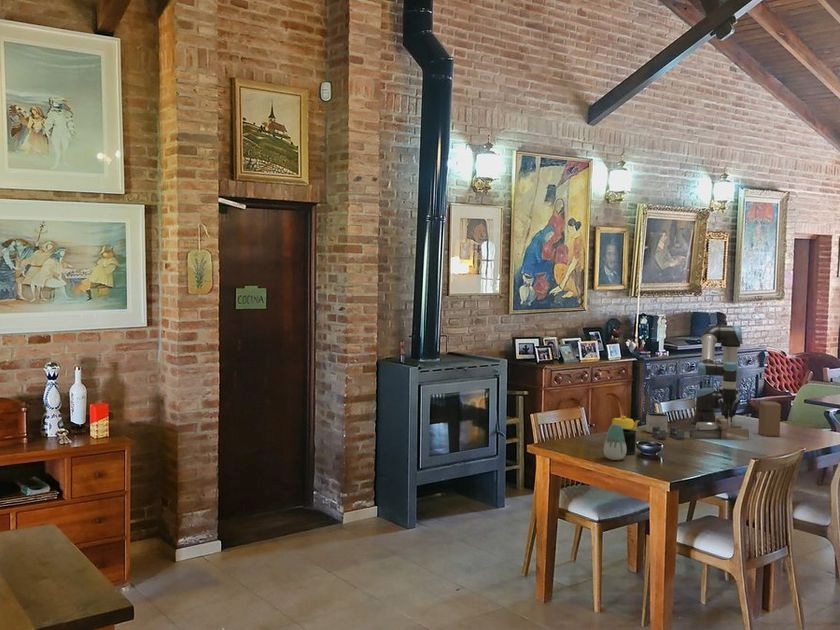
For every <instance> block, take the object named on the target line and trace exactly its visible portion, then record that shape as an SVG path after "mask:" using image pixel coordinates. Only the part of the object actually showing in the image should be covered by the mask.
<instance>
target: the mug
mask: <svg viewBox="0 0 840 630" xmlns="http://www.w3.org/2000/svg"><path fill="white" fill-rule="evenodd" d="M623 433H624V438H625V443H626V448H627V452H626V455H634V454H635V453H636V435H637V433H638V430H636V431H635V430H632V429H623Z"/></svg>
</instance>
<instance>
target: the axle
mask: <svg viewBox="0 0 840 630" xmlns="http://www.w3.org/2000/svg"><path fill="white" fill-rule="evenodd" d="M721 424H722V421H721V422H697V423H696V424H695V430H697V431H721ZM727 428H729V424H728V423H727Z"/></svg>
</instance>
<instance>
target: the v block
mask: <svg viewBox="0 0 840 630" xmlns="http://www.w3.org/2000/svg"><path fill="white" fill-rule="evenodd" d="M651 437H652V438H655V439H656V440H658V441H663V440H664V441H666V440H667V433H666V430H660V427H652V433H651ZM669 437H671V438H672V437H673V439H674V438H675V440H676V439H677V441H684V440H685V430H684V429H678V427H677V426H669Z"/></svg>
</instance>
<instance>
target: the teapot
mask: <svg viewBox="0 0 840 630" xmlns="http://www.w3.org/2000/svg"><path fill="white" fill-rule="evenodd" d="M639 422H640V420H635V421H634V419H633V418H629V417H627V416H626V415H621V417H613V418H612V419H611V425H612V424H613V425H620V426H621V427H622V429H632V430H635V431H637V428H638V423H639Z"/></svg>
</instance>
